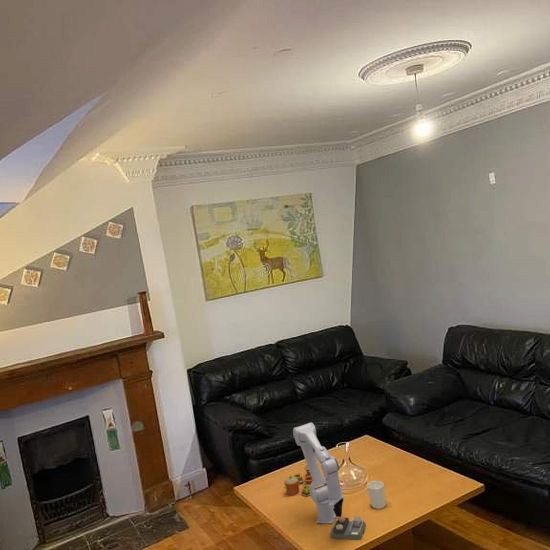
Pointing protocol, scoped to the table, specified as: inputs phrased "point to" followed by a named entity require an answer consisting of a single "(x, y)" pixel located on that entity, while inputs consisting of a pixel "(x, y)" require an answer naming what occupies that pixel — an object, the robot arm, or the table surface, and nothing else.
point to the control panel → (348, 530)
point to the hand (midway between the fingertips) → (339, 516)
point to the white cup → (376, 494)
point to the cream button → (339, 527)
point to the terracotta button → (342, 519)
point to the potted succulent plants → (297, 479)
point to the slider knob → (357, 521)
